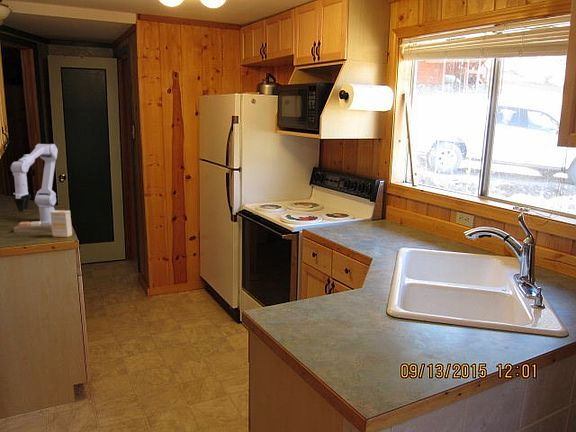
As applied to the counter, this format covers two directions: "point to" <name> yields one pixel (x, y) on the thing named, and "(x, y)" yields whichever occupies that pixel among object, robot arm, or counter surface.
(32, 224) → the cream key
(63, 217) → the supplement box
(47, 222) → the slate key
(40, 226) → the key panel
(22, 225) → the terracotta key
